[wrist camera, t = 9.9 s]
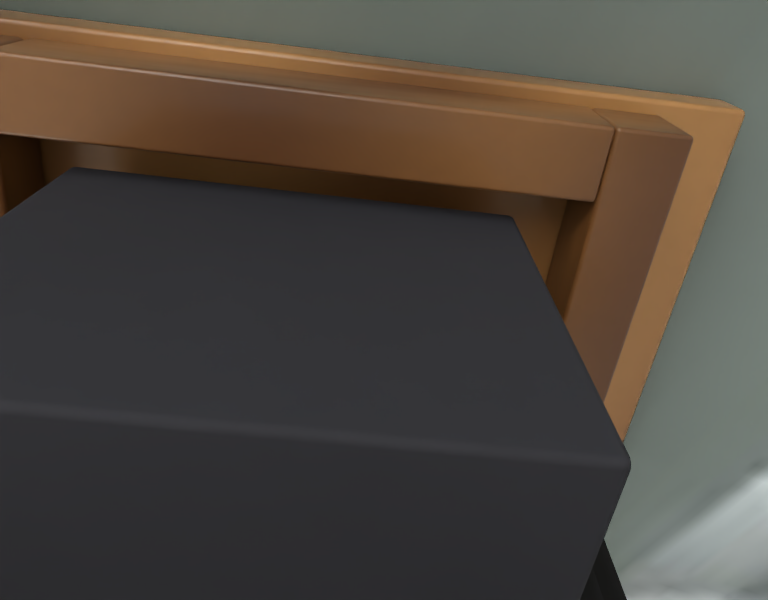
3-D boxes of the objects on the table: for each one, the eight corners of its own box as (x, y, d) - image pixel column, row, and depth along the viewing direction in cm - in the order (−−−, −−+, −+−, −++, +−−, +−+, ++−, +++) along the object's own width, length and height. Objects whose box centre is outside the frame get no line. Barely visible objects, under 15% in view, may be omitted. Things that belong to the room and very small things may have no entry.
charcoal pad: (514, 213, 9) (638, 464, 5) (427, 597, 13) (451, 937, 8) (71, 163, 9) (-245, 383, 4) (115, 574, 12) (-32, 915, 8)
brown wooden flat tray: (723, 99, 10) (796, 131, 8) (476, 797, 19) (486, 883, 17) (-107, -5, 9) (-224, 6, 7) (57, 770, 19) (22, 856, 17)
